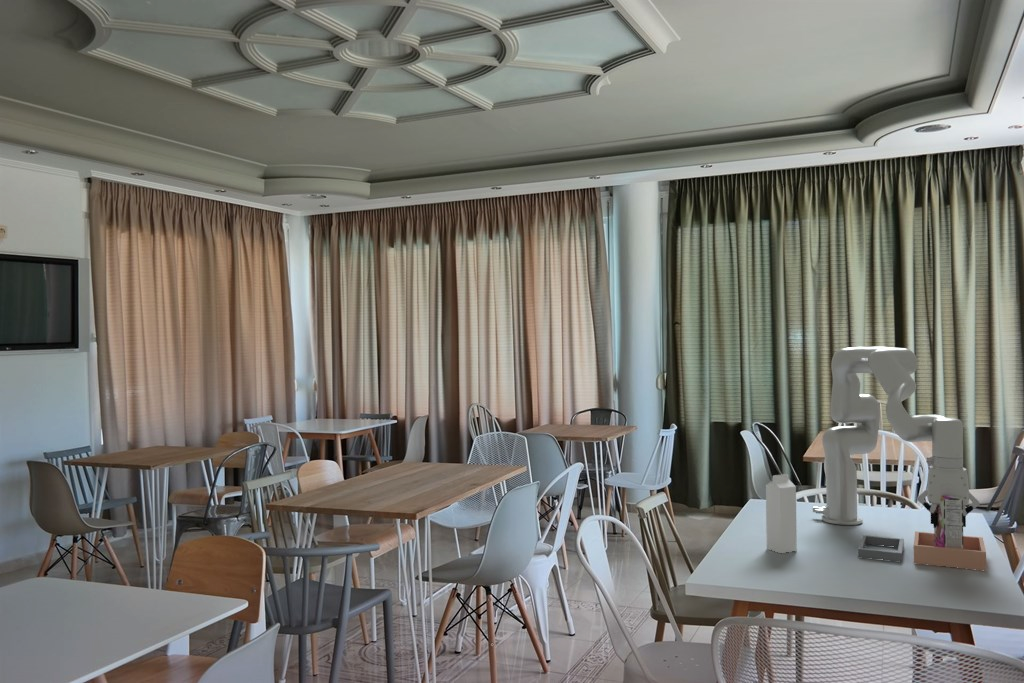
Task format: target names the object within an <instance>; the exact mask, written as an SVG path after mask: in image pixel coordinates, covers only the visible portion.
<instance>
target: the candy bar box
mask: <svg viewBox="0 0 1024 683" xmlns="http://www.w3.org/2000/svg"><path fill="white" fill-rule="evenodd" d="M935 511H936V528H934V527H933V528H934V529H933V530H934V532H933V533H934V546H935V547H945V548H955V549H963V536H964V527H963V499H962V498H960V497H953V496H941V503H940V504H937V507H936V509H935Z"/></svg>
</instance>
